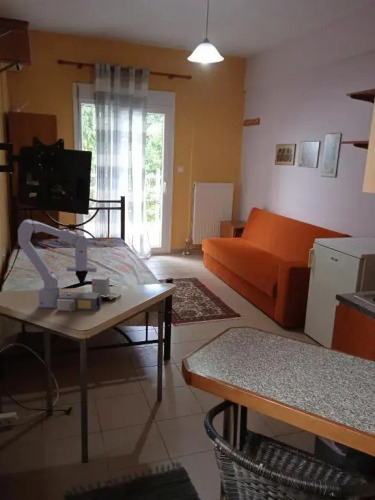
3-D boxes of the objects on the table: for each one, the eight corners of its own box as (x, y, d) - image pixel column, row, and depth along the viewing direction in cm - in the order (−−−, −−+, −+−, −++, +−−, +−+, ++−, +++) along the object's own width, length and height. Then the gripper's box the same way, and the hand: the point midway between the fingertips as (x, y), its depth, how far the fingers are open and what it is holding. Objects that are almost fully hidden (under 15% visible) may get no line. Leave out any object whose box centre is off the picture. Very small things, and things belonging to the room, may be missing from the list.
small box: (109, 295, 218) (109, 276, 216) (106, 298, 213) (106, 279, 211) (95, 294, 219) (95, 275, 217) (92, 297, 213) (91, 278, 211)
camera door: (55, 312, 191) (54, 302, 189) (58, 309, 195) (57, 299, 194) (72, 312, 191) (71, 302, 189) (74, 309, 195) (74, 299, 194)
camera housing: (58, 309, 195) (58, 296, 194) (64, 303, 204) (63, 290, 203) (98, 310, 195) (98, 297, 194) (102, 304, 204) (102, 291, 203)
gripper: (64, 260, 196) (65, 287, 199) (94, 261, 196) (94, 288, 199) (68, 257, 203) (69, 283, 206) (97, 257, 203) (97, 283, 206)
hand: (82, 285), depth 203 cm, fingers closed
